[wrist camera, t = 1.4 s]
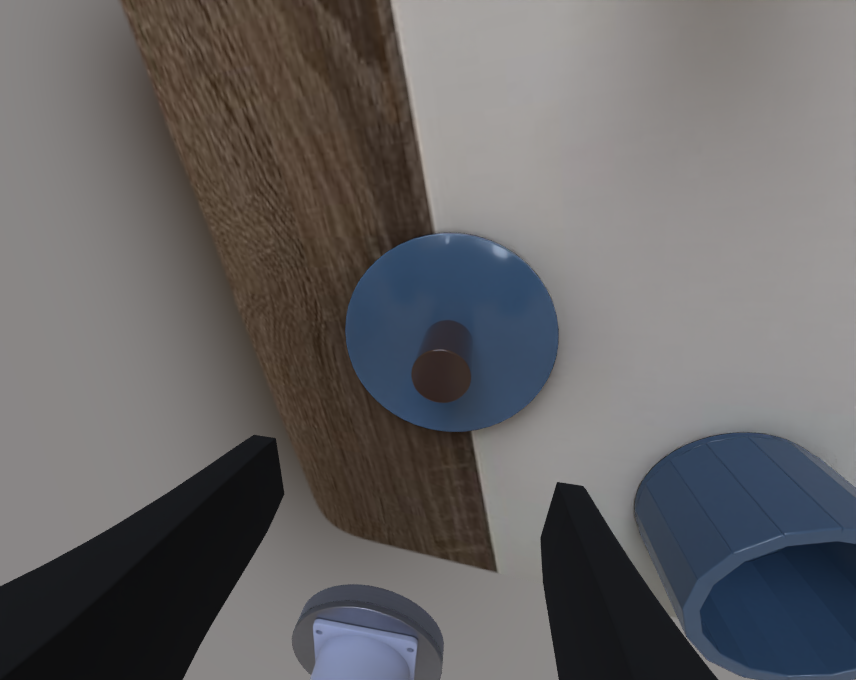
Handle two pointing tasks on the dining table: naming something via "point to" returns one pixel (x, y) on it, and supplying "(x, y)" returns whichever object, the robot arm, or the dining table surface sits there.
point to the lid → (452, 332)
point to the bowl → (756, 555)
